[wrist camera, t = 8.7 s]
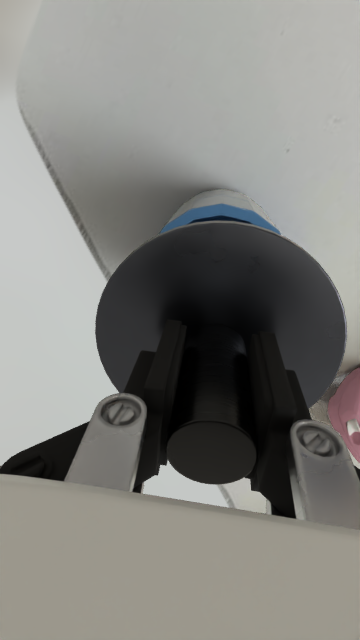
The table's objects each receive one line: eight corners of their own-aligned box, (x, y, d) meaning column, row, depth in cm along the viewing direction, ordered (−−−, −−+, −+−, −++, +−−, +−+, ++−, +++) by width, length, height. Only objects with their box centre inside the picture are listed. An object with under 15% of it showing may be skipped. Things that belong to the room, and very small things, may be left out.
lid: (107, 405, 16) (49, 530, 11) (99, 204, 12) (-8, 245, 6) (302, 434, 15) (344, 582, 10) (375, 232, 11) (526, 306, 5)
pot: (148, 255, 28) (119, 294, 20) (207, 164, 24) (200, 169, 16) (226, 310, 30) (228, 366, 22) (294, 233, 26) (326, 267, 18)
